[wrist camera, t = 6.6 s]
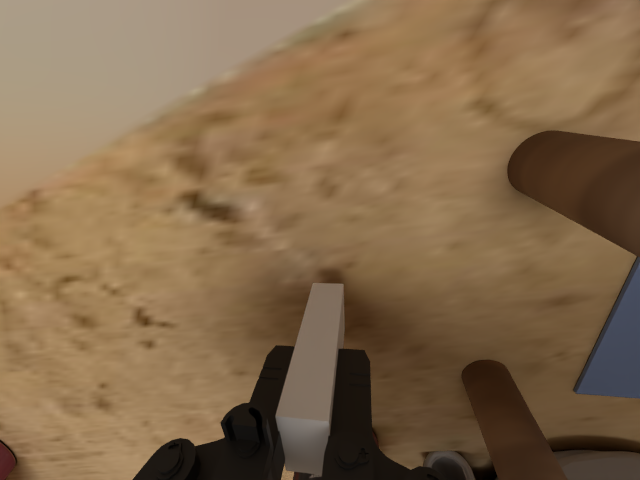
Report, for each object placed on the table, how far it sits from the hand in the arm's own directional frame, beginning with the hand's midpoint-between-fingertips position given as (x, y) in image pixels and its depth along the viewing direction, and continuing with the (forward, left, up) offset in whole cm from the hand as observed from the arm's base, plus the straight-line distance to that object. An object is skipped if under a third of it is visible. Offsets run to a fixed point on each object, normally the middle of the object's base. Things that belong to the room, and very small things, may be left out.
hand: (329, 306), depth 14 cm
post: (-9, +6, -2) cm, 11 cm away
